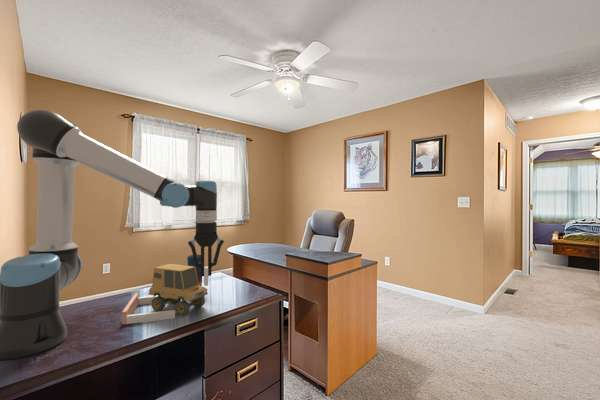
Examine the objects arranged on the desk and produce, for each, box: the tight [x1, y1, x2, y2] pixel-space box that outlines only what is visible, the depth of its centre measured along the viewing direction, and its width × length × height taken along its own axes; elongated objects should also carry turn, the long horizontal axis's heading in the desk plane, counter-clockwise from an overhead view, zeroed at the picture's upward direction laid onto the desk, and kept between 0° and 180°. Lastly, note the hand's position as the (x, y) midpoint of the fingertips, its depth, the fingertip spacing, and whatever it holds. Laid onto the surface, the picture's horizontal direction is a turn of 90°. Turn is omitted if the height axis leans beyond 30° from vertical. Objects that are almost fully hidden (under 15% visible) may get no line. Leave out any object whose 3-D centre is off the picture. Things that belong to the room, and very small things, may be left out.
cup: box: [186, 254, 203, 287], centre depth 122 cm, size 7×7×15 cm
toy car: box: [148, 263, 209, 317], centre depth 101 cm, size 10×19×15 cm, turn 69°
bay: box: [121, 292, 176, 325], centre depth 99 cm, size 15×18×4 cm
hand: (206, 284), depth 105 cm, fingers closed
